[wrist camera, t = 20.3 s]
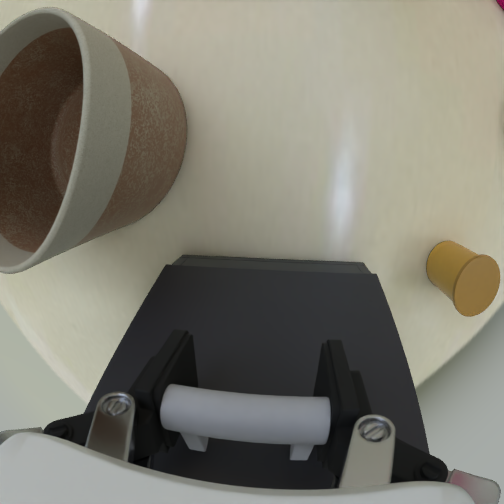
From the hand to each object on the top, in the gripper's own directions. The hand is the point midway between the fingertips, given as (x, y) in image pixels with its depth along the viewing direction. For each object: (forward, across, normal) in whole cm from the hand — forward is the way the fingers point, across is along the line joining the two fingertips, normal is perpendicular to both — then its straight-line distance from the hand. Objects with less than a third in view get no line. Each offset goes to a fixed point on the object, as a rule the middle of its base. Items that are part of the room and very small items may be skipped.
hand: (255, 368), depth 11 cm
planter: (+14, +15, -11) cm, 23 cm away
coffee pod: (+14, -16, 0) cm, 22 cm away
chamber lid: (+3, 0, +2) cm, 4 cm away
